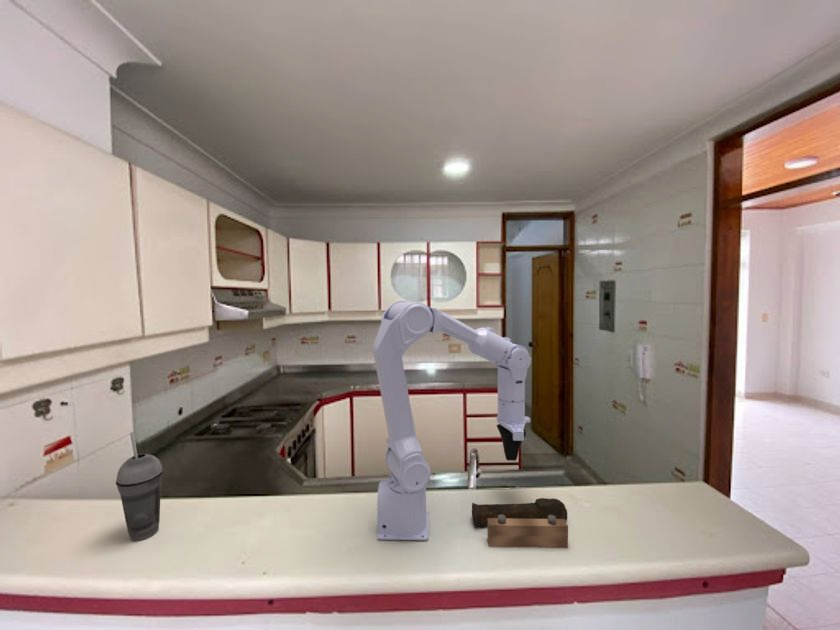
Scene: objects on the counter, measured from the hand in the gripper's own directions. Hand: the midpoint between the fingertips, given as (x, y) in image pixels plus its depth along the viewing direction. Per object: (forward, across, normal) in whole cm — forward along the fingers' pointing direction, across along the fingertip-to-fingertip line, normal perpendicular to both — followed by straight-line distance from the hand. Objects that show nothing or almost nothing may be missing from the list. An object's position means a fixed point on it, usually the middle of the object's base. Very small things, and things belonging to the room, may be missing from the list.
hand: (510, 459), depth 79 cm
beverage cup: (+9, -13, +73) cm, 75 cm away
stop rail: (+9, -14, 0) cm, 17 cm away
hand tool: (+9, -8, 0) cm, 12 cm away
